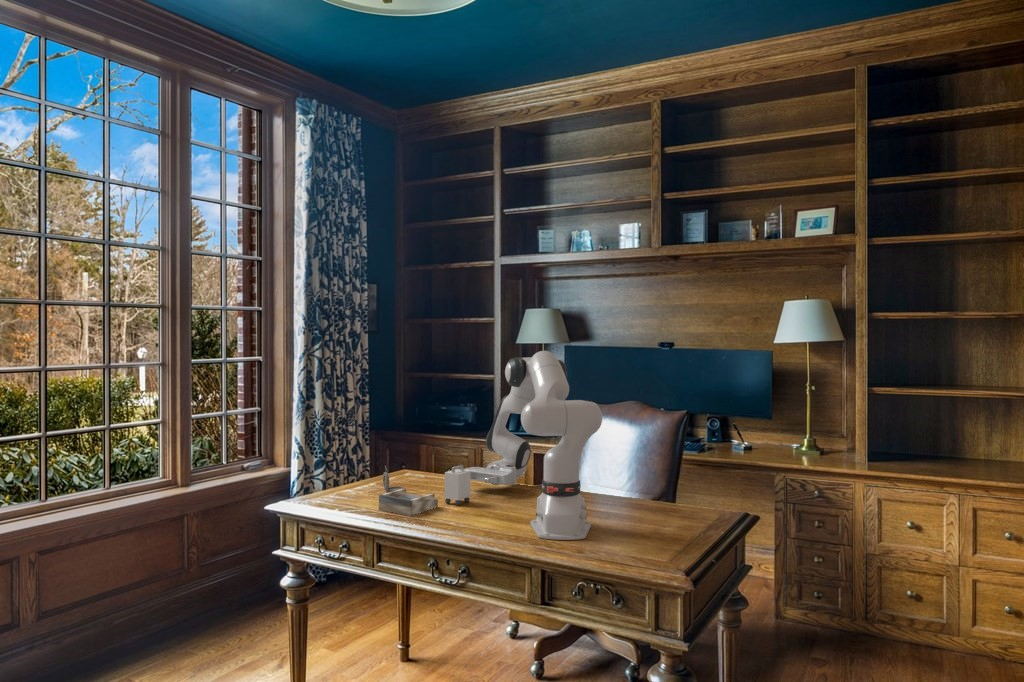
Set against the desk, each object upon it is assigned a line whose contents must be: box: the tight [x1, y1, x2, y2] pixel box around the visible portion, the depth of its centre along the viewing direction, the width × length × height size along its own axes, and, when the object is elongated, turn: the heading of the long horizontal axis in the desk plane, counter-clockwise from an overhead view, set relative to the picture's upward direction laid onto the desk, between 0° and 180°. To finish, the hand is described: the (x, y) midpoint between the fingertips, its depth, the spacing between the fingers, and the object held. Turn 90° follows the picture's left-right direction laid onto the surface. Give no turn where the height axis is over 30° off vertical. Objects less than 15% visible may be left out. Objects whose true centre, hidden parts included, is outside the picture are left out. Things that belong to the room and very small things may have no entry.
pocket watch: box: [382, 466, 404, 493], centre depth 256 cm, size 8×8×10 cm
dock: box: [378, 487, 439, 517], centre depth 231 cm, size 14×14×5 cm
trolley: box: [444, 464, 471, 506], centre depth 240 cm, size 7×6×13 cm
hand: (476, 479), depth 249 cm, fingers open, 8 cm apart
